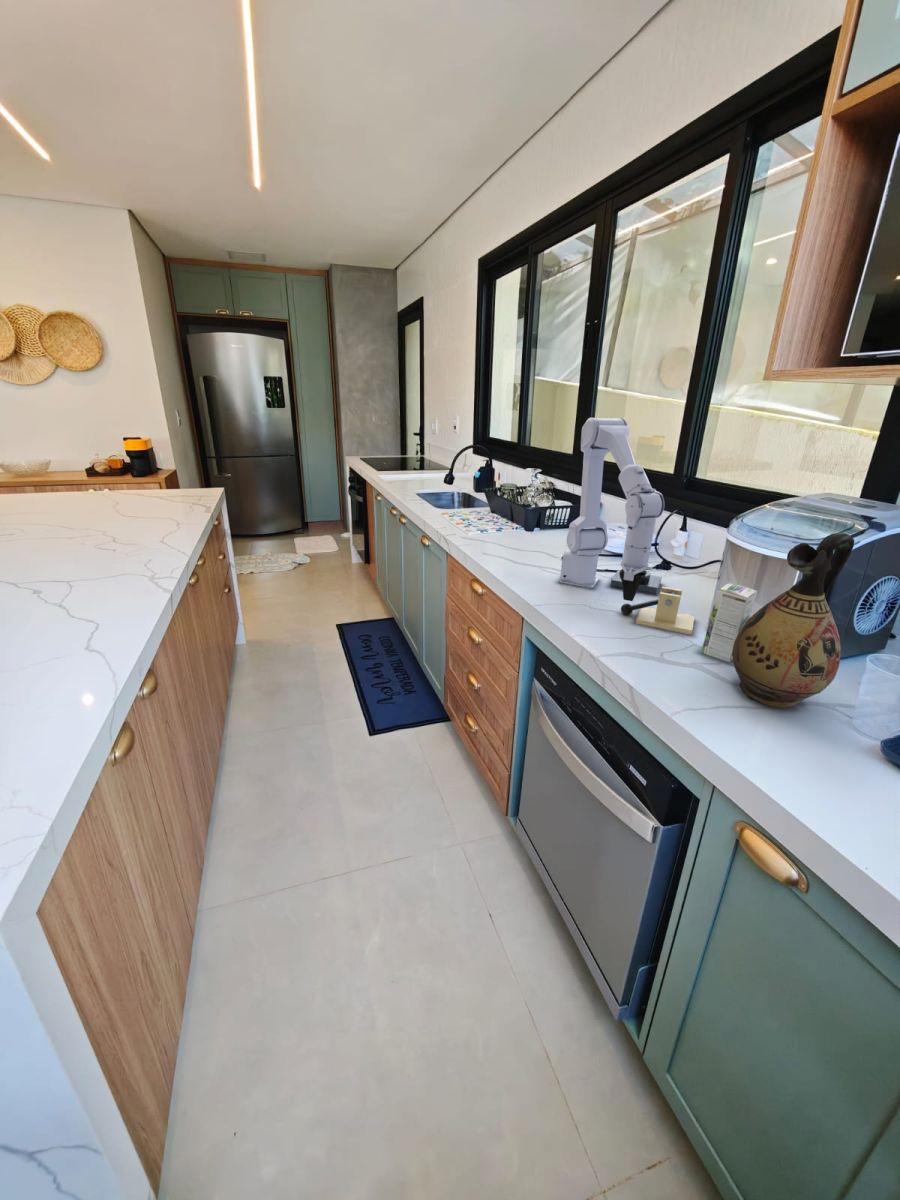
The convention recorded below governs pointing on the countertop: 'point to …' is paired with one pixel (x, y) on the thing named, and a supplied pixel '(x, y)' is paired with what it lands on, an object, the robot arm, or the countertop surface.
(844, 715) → the countertop surface
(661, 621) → the cream lever stand
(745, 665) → the ceramic jug
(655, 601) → the lever
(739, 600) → the syrup box
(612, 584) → the block
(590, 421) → the robot arm
